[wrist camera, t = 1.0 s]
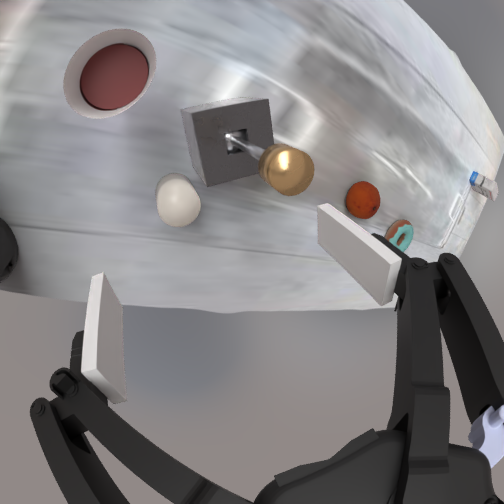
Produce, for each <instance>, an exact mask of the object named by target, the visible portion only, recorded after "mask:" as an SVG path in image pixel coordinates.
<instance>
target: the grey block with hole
mask: <svg viewBox="0 0 504 504" xmlns="http://www.w3.org/2000/svg"><path fill="white" fill-rule="evenodd" d="M181 113H182V118H183V123H184V128H185V133H186V137H187V142H188V146H189V151H190V156H191V160H192V164H193V168H194V169H195V170H196V172H197V173H198V175H199V176H200V177H201V179H202V180H203V182H204V183H205V185H206V186H207V187H209V186H213V185H216V184H220V183H224V182H227V181H231V180H235V179H238V178H242V177H246V176H250V175H254V174H258V173H259V170H258V163H259V160H257V159H256V158H254V157H252V156H251V155H249V154H247V153H246V152H244V151H238V152H234V153H230V154H228V153H227V148H226V142H225V136H224V133H227V132H232V131H236V130H241V129H245V133H246V139H247V141H248V142H250V143H252V144H254V145H256V146H258V147H260V148H262V149H264V150H266V149H267V148H268V147H270V146H271V145H274V140H273V131H272V123H271V115H270V107H269V100H268V99H263V98H250V97H238V98H232V99H227V100H221V101H216V102H211V103H207V104H202V105H198V106H193V107H189V108H185V109H181Z"/></svg>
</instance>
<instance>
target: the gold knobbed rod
mask: <svg viewBox="0 0 504 504" xmlns="http://www.w3.org/2000/svg"><path fill="white" fill-rule="evenodd" d="M224 136H225V142H226V148H227V153H228V154H230V153H234V152H238V151H244V152H246V153H247V154H249V155H251V156H252V157H254V158H256V159H257V160H259V163H258V170H259V174H260V176H261V178H262V179H263V180H264V181H265V182H267V183H268V184H269V185H270V186H272V187H273V188H274V189H276V190H277V191H278V192H280V193H281V194H283V195H287V196H293V195H297V194H300V193H301V192H303V191H304V190H305V189H306V188H307V187H308V186H309V185H310V183H311V181H312V179H313V176H314V164H313V161H312V159H311V158H310V156H309V155H308V154H306V153H305V152H303V151H300V150H298V149H296V148H293V147H291V146H289V145H286V144H274V145H271V146H270V147H268V148H267V149H266V150H264V149H262V148H260V147H258V146H256V145H254V144H252V143H250V142H248V141H247V139H246V133H245V129H241V130H236V131H232V132H227V133H224Z"/></svg>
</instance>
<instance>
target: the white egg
mask: <svg viewBox="0 0 504 504" xmlns="http://www.w3.org/2000/svg"><path fill="white" fill-rule="evenodd" d="M155 195H156V201H157V207H158V213H159V216H160V218H161V219H162V220H163V221H164V222H165V223H166V224H168V225H170V226H173V227H183V226H186V225H188V224H190V223H191V222H193V221H194V220H195V219H196V218H197V216H198V214H199V212H200V209H201V202H200V198H199V196H198V194H197V193H196V191H195V189H194V187H193V186H192V184H191V182H190V181H189V179H188V178H187V177H186V176H184V175H182V174H178V173H171V174H168V175H166V176H164V177H163V178H162V179H160V181H159V182H158V184H157V186H156V189H155Z"/></svg>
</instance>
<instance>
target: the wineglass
mask: <svg viewBox="0 0 504 504" xmlns="http://www.w3.org/2000/svg"><path fill="white" fill-rule="evenodd" d="M155 69H156V54H155V51H154V48H153V46H152V44H151V42H150V41H149V40H148V39H147V38H146V37H145V36H144V35H142V34H141V33H139V32H137V31H133V30H130V29H113V30H108V31H105V32H102V33H100V34H98V35H96V36H94V37H92V38H91V39H89V40H88V41H87V42H85V43H84V44H83V45H82V46H81V47H80V48H79V49H78V50H77V51H76V53H75V54H74V55H73V57H72V58H71V60H70V62H69V64H68V66H67V69H66V72H65V76H64V94H65V97H66V100H67V102H68V104H69V105H70V107H71V108H72V109H73V110H74V111H76V112H77V113H78V114H80V115H82V116H84V117H88V118H95V119H100V118H107V117H112V116H114V115H117V114H119V113H121V112H123V111H125V110H127V109H128V108H130V107H131V106H132V105H134V104H135V103H136V102H137V101H138V100H139V99H140V98H141V97H142V96H143V95H144V93H145V92H146V90H147V89H148V88H149V86H150V84H151V82H152V79H153V77H154V74H155Z"/></svg>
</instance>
